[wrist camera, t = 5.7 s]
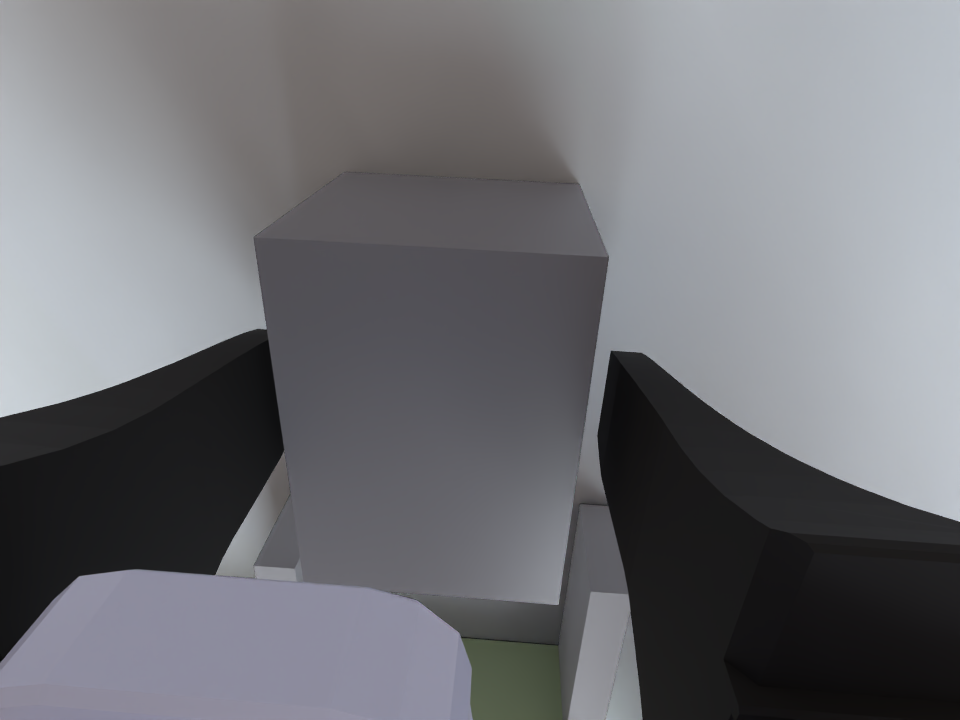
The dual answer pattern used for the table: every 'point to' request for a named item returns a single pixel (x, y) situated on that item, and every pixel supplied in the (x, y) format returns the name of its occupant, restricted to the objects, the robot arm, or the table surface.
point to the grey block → (434, 378)
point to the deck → (525, 666)
